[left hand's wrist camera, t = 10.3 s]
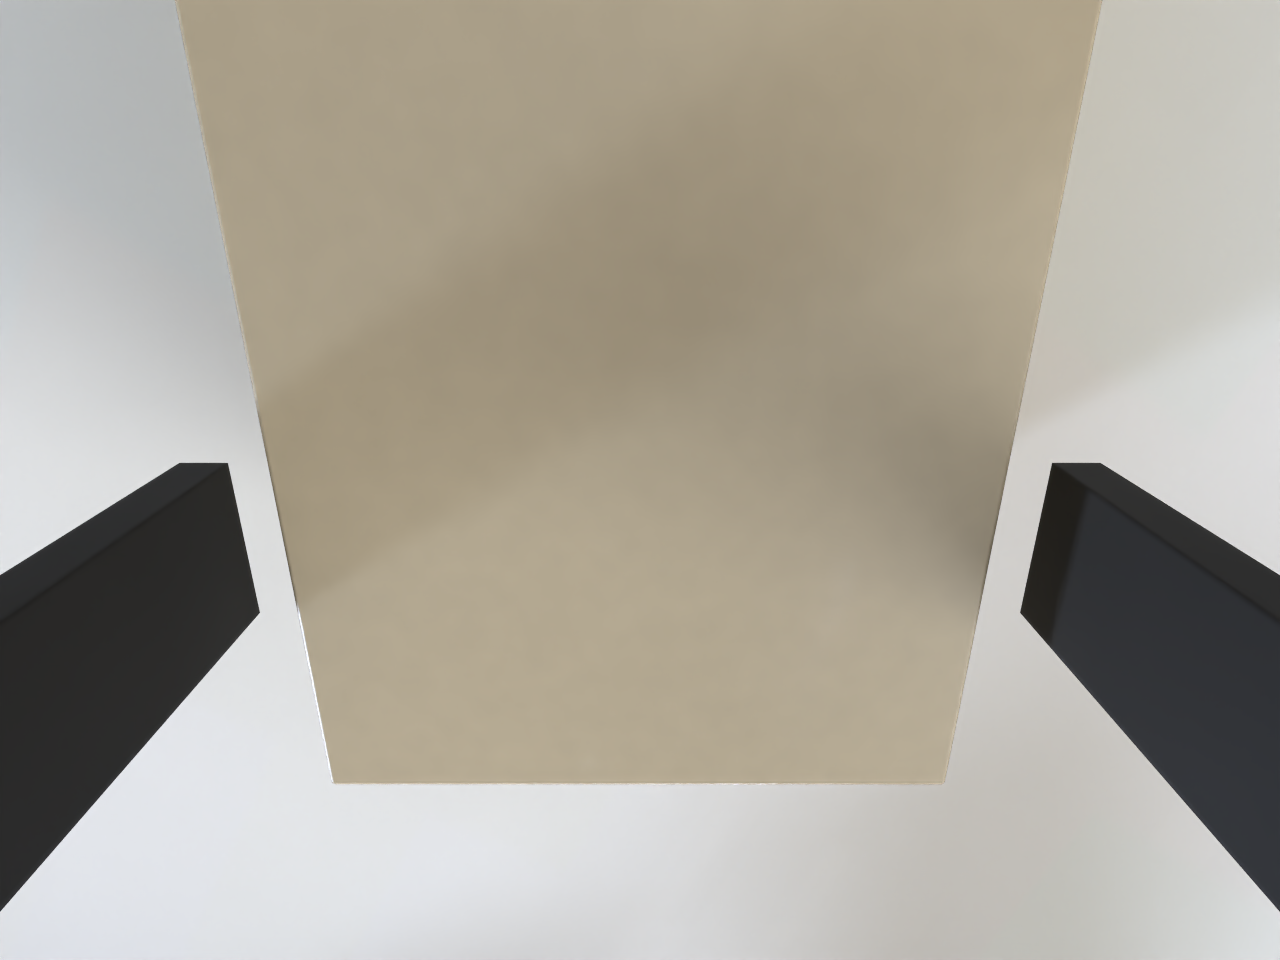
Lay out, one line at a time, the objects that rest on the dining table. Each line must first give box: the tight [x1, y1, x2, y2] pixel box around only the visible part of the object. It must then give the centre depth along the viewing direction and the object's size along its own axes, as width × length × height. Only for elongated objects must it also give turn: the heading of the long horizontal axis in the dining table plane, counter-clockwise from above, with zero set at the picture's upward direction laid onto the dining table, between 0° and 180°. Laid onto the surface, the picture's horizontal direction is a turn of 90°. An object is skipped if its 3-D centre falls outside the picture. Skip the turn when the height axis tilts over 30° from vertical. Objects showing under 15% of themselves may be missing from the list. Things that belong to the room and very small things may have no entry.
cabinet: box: [175, 0, 1102, 784], centre depth 14 cm, size 18×10×9 cm, turn 0°
